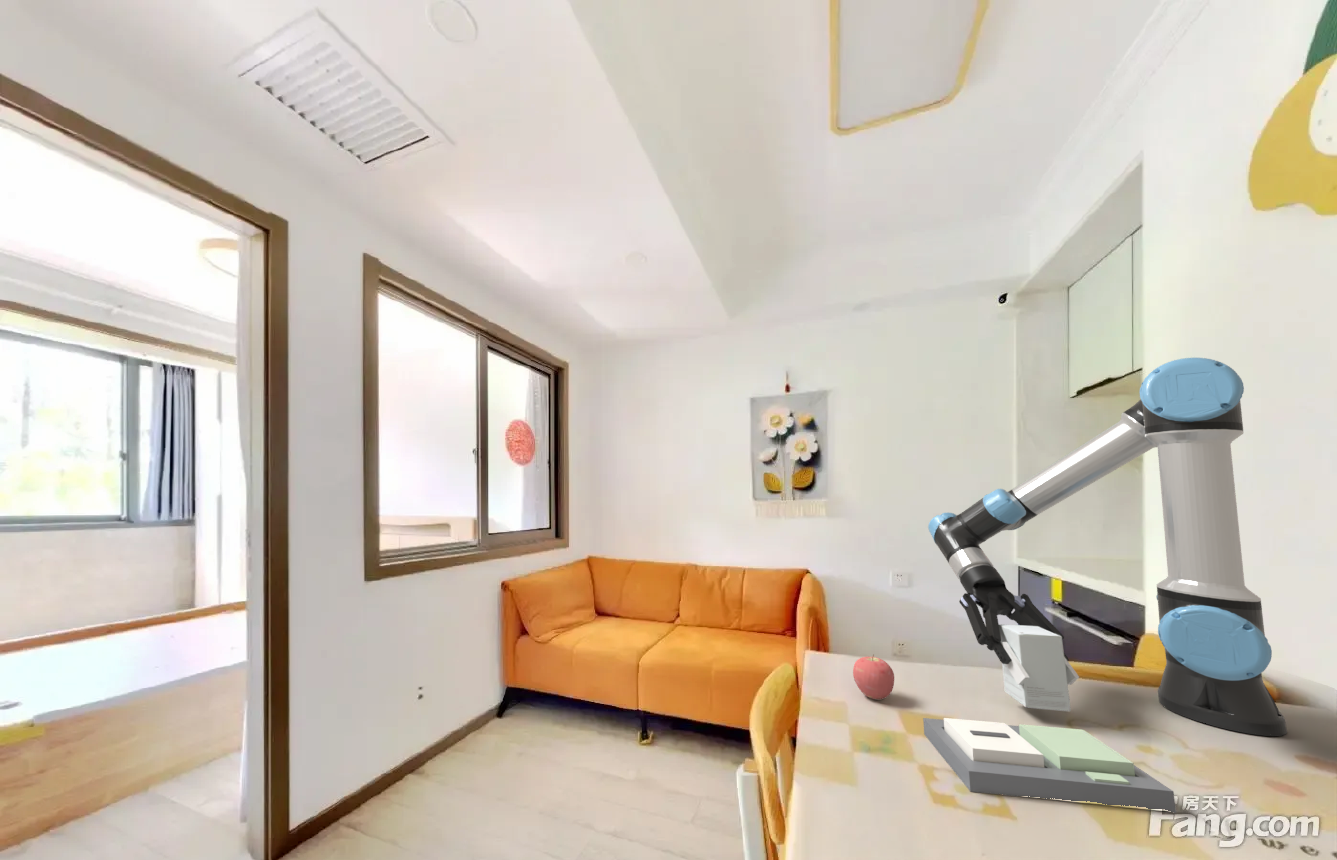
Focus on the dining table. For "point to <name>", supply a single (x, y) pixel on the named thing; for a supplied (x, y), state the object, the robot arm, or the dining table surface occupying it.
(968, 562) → the robot arm
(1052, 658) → the supplement box
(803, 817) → the dining table surface
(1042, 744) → the key
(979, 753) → the grey flat rectangular block
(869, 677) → the apple
